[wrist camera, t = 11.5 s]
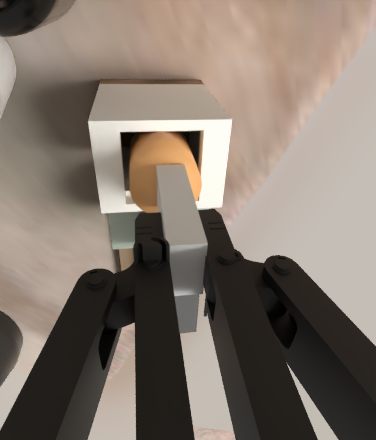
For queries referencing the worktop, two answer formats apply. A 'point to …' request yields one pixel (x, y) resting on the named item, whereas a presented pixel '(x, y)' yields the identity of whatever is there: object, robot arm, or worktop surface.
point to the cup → (6, 73)
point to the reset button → (158, 155)
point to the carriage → (125, 238)
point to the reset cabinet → (153, 122)
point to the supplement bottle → (29, 14)
